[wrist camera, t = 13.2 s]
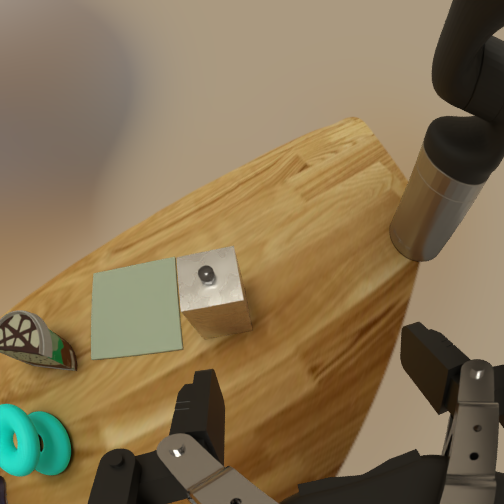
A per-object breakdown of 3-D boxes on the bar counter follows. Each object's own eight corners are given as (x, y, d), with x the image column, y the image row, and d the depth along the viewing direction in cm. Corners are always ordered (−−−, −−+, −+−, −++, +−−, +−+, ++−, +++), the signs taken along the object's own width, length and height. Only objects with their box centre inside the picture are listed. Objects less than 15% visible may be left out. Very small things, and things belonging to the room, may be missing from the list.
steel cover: (244, 286, 44) (232, 239, 34) (252, 330, 40) (242, 295, 30) (198, 295, 44) (173, 252, 33) (204, 339, 40) (177, 307, 30)
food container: (88, 331, 42) (49, 306, 33) (84, 371, 39) (42, 353, 30) (32, 329, 42) (-7, 306, 34) (27, 365, 39) (-15, 346, 31)
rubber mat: (175, 258, 47) (174, 256, 47) (183, 349, 40) (182, 348, 39) (94, 274, 47) (93, 273, 46) (92, 360, 39) (91, 359, 39)
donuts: (-17, 396, 27) (29, 408, 27) (27, 408, 35) (74, 417, 35) (-16, 464, 22) (32, 485, 21) (28, 466, 30) (77, 481, 30)
